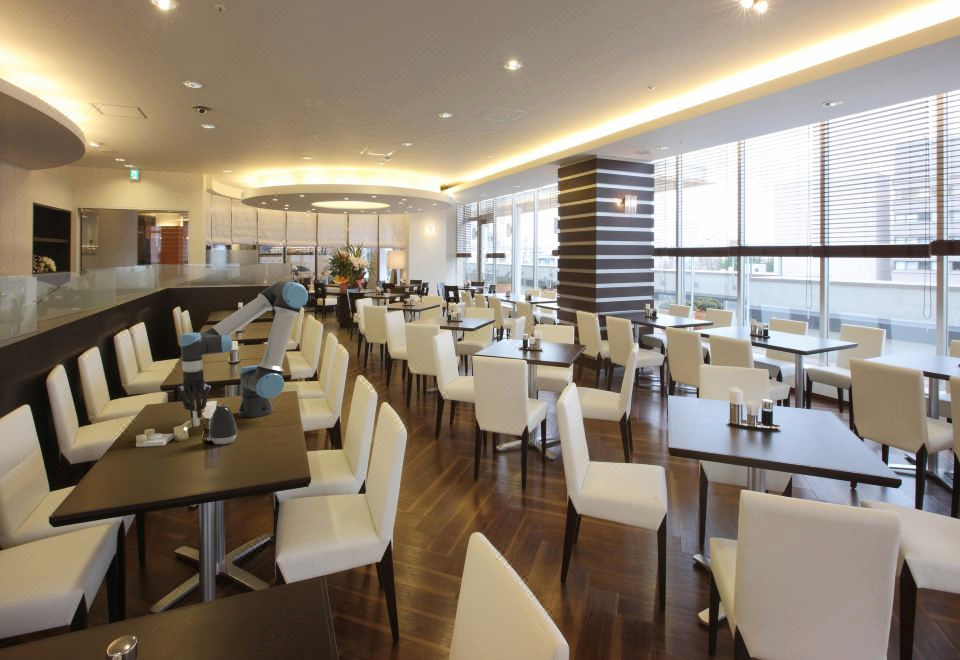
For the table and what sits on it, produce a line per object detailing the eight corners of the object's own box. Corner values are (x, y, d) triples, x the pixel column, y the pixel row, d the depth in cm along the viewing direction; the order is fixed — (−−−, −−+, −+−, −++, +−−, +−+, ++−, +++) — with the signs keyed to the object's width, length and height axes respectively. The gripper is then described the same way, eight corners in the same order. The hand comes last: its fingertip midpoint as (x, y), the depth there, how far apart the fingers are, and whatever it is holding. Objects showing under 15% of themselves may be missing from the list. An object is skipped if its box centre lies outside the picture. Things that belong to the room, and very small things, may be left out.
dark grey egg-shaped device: (232, 436, 224) (229, 401, 222) (242, 442, 216) (239, 405, 214) (206, 442, 217) (203, 405, 215) (215, 449, 209) (212, 411, 207)
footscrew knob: (185, 440, 218) (185, 428, 217) (172, 441, 217) (171, 429, 216) (196, 431, 229) (195, 419, 229) (184, 431, 229) (183, 420, 228)
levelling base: (177, 435, 226) (177, 425, 225) (163, 446, 212) (162, 436, 211) (151, 436, 224) (150, 426, 224) (135, 448, 210) (134, 437, 210)
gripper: (212, 367, 229) (216, 421, 232) (179, 368, 227) (183, 423, 230) (206, 371, 221) (210, 427, 224) (172, 372, 219) (176, 428, 222)
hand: (196, 425), depth 227 cm, fingers closed
